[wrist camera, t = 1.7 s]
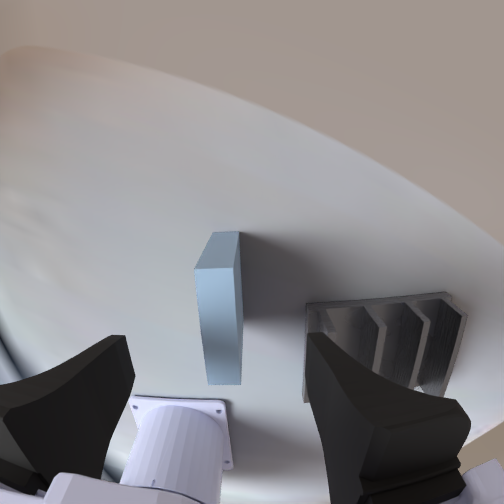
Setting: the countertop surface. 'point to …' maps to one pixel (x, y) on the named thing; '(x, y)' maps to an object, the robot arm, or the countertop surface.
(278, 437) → the countertop surface
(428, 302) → the rack
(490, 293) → the countertop surface
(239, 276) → the panel
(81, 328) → the countertop surface
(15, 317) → the countertop surface
